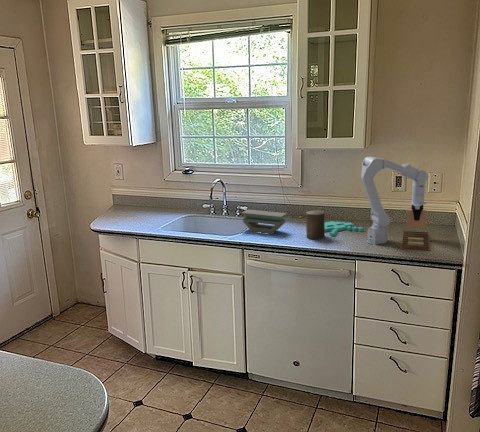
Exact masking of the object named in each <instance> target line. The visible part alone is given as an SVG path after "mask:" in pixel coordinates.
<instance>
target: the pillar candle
mask: <svg viewBox="0 0 480 432" xmlns="http://www.w3.org/2000/svg"><path fill="white" fill-rule="evenodd" d="M305 213H306V214H305V215H306V216H305V217H306V220H305V221H306V238H307V239H310V240H321V239H322V240H323V239H324V238H325V236H326V235H325V233H326V232H325V221H326V220H325V217H326V216H325V211H323V210H320V209H317V210H315V209H314V210H308V211H306V212H305Z"/></svg>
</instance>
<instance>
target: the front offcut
mask: <svg viewBox="0 0 480 432" xmlns="http://www.w3.org/2000/svg"><path fill="white" fill-rule="evenodd" d="M408 245H418V246H423V245H424V243H423V242H408Z"/></svg>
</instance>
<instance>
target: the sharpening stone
mask: <svg viewBox="0 0 480 432" xmlns="http://www.w3.org/2000/svg"><path fill="white" fill-rule="evenodd" d="M240 215H241V216H245V217H243V219H242V222H243V224H244V225H246V227H247V229H249V230H250V232H251V233H255V232H261V233H260V234H263V233H268V234H267V235H273V232H274V233H275V232H277V231H278V230H279V229H280V228H282V226H283V225H284V224H285V223H286V217H288V213H287V212H279V211H268V210H257V209H246V210H244V211H242V212H241V214H240ZM276 230H277V231H276Z"/></svg>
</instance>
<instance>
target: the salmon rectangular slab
mask: <svg viewBox="0 0 480 432" xmlns="http://www.w3.org/2000/svg"><path fill="white" fill-rule="evenodd" d="M406 212H407V213H406V227H412V228H413V227H415V228H426V227H427V226H426V225H427V209H423V210H422V212H421V215H420V219H419V221H417V220H414V214H413V210H412V208H411V209H407V210H406Z"/></svg>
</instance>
